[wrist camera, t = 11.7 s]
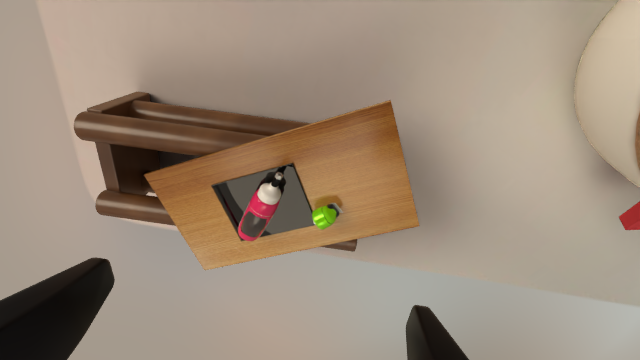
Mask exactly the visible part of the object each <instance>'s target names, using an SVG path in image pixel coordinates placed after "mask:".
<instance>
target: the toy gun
mask: <svg viewBox="0 0 640 360" xmlns="http://www.w3.org/2000/svg"><path fill="white" fill-rule="evenodd" d="M619 218H620V220H621V222H622V224H623V226H624V228H625V230H640V202H638V203H637V204H636V205H634V206H633V207H631V208H630V209H629V210H627V211H626V212H625V213H623V214H622V215H621V216H619Z"/></svg>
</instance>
